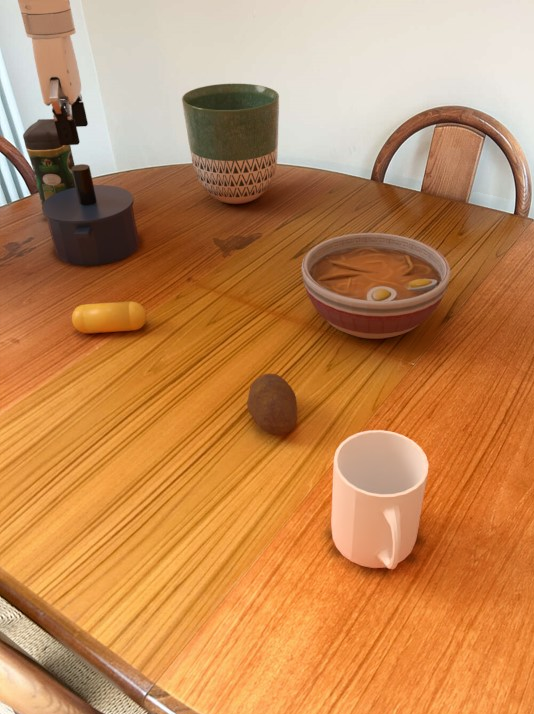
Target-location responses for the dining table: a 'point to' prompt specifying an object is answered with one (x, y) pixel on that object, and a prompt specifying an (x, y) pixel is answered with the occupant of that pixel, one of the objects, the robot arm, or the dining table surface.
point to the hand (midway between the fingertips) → (74, 135)
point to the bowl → (375, 283)
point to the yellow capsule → (109, 317)
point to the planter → (233, 139)
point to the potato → (273, 404)
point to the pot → (95, 240)
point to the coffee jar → (49, 159)
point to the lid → (87, 201)
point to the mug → (377, 497)
